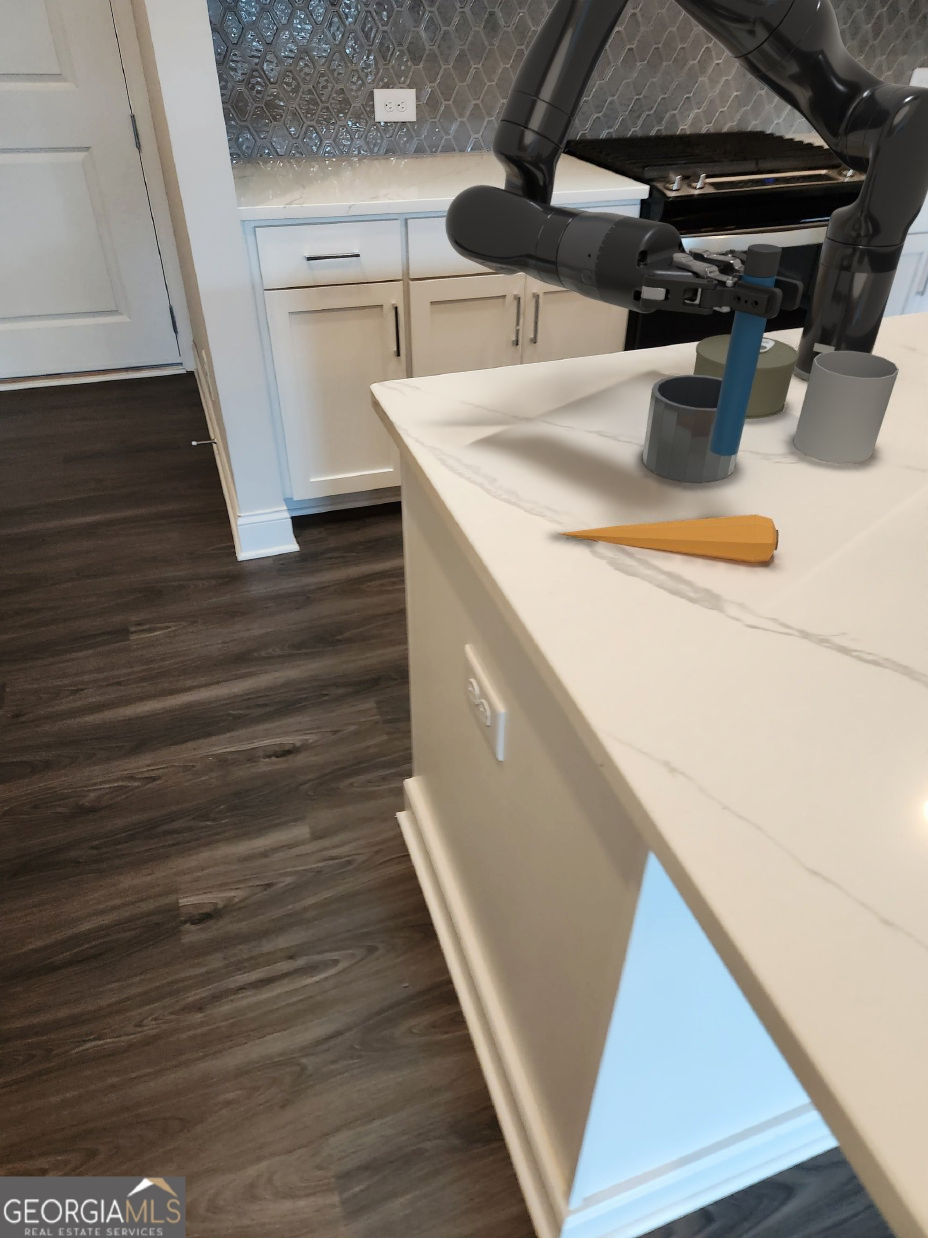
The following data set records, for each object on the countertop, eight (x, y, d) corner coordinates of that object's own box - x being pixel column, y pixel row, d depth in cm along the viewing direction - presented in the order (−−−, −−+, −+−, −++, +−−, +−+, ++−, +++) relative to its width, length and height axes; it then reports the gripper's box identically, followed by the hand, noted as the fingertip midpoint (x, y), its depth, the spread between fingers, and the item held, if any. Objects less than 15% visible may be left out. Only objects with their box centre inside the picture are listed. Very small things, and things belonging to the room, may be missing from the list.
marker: (719, 441, 78) (759, 241, 67) (743, 450, 76) (788, 247, 65) (703, 449, 76) (741, 247, 66) (727, 459, 75) (770, 252, 64)
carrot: (772, 560, 77) (776, 512, 76) (777, 569, 73) (782, 517, 72) (559, 553, 82) (560, 507, 81) (552, 560, 78) (553, 512, 76)
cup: (876, 470, 90) (905, 381, 84) (797, 464, 91) (820, 375, 85) (863, 437, 96) (888, 352, 90) (789, 432, 98) (810, 348, 92)
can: (668, 403, 105) (676, 349, 101) (720, 378, 112) (730, 327, 107) (753, 431, 98) (765, 375, 94) (803, 403, 105) (816, 349, 100)
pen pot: (676, 438, 97) (687, 367, 91) (751, 466, 91) (768, 392, 86) (623, 464, 91) (632, 390, 86) (699, 496, 85) (714, 418, 80)
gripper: (571, 227, 70) (751, 266, 60) (670, 205, 78) (844, 236, 67) (565, 317, 75) (731, 368, 64) (658, 288, 82) (820, 329, 72)
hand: (788, 300), depth 66 cm, fingers closed on marker, 2 cm apart
